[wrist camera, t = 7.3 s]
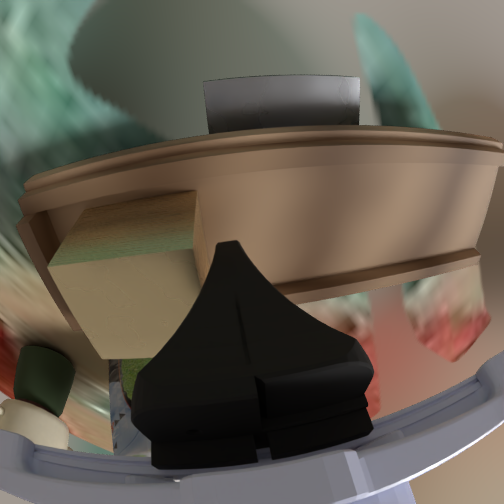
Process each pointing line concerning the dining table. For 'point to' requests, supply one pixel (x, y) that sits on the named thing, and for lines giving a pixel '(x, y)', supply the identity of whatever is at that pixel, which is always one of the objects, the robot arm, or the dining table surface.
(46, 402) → the character mug
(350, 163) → the beam
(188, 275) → the brass block
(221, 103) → the pivot stand
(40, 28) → the dining table surface
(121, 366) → the beverage can
